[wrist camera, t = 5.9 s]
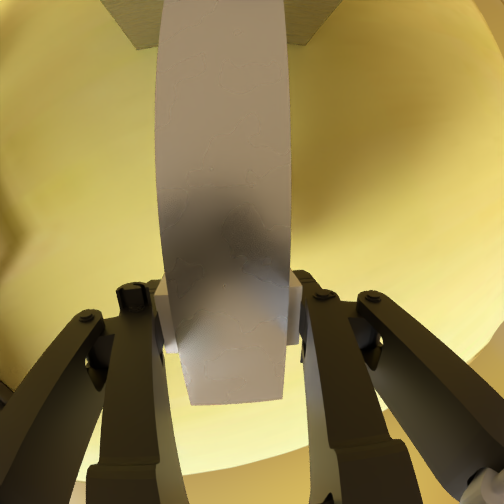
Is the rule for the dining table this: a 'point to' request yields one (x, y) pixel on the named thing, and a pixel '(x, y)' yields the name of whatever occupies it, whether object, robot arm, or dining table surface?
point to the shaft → (225, 193)
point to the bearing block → (151, 6)
